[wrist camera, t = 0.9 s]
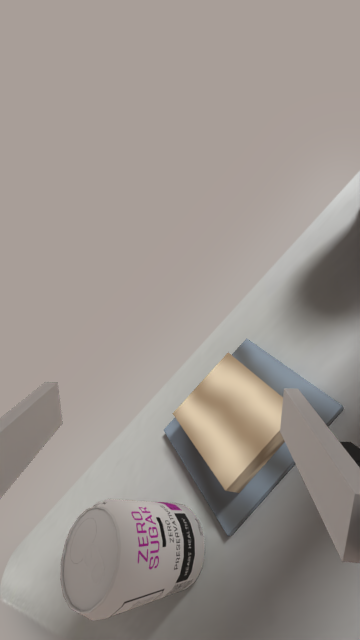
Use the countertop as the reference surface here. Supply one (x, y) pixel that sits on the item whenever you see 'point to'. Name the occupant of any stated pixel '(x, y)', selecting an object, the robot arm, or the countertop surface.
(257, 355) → the base
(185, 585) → the supplement can
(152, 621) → the countertop surface
